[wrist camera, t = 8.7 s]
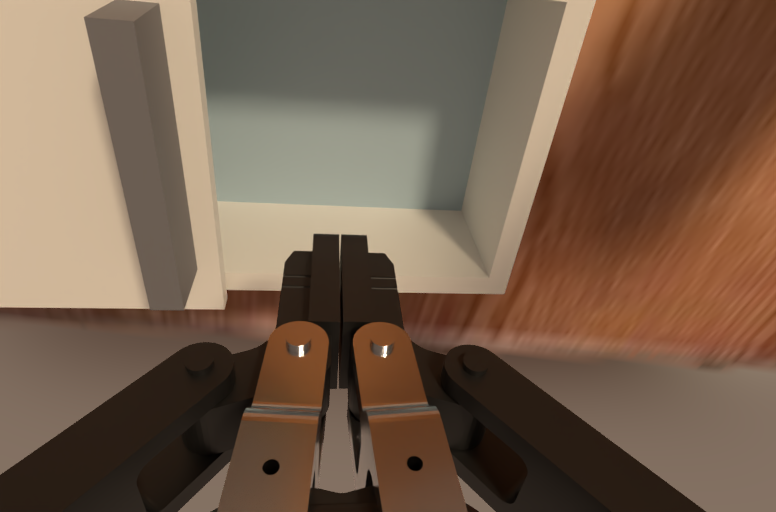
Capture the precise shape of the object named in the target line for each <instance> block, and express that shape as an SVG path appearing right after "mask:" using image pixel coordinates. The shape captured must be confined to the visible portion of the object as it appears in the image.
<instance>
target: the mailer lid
mask: <svg viewBox="0 0 776 512" xmlns="http://www.w3.org/2000/svg"><path fill="white" fill-rule="evenodd" d="M226 301H227V289H226V280H225V270H224V261H223V251H222V242H221V232H220V222H219V213H218V203H217V194H216V184H215V175H214V165H213V156H212V146H211V137H210V127H209V118H208V108H207V99H206V89H205V80H204V70H203V61H202V51H201V42H200V32H199V23H198V13H197V4H196V0H0V307H25V308H126V309H150V310H184V309H225V306H226Z"/></svg>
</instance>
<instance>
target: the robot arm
mask: <svg viewBox="0 0 776 512" xmlns="http://www.w3.org/2000/svg"><path fill="white" fill-rule="evenodd" d="M338 354H339V388H348V410H347V419H348V428H349V437H350V446H351V455H352V464H353V473H354V482H355V490H354V491H351V492H348V493H335V492H331V491H327V490H322V489H319V488H318V487H319V477H320V469H321V459H322V450H323V440H324V431H325V421H326V412H327V410H328V407H329V395H330V389H336V388H337V371H338ZM228 462H230V465H229V469H228V473H227V477H226V480H225V484H224V488H223V491H222V495H221V499H220V503H219V507H218V508H217V509H215V510H213V511H211V512H478V511H477V510H476V509H474V508H473V507H471V506H469V505H468V504H466V503H465V500H464V497H463V493H462V490H461V486H460V483H459V479H458V476H459V477H460V478H461V479H462V480H463V481H464V482H465V483H467V484H468V485H469V486H470V487H471V488H472V489H473V490H474V491H475V492H476V493H477V494H478V495H479V496H480V497H481V498H482V499H483V500H484V501H485V502H486V503H487V504H488V505H489V506H490V507H492V508H493V509H494V510H495V511H496V512H706V511H704V510H703V509H702V508H700V507H699V506H698V505H696V504H695V503H693V502H692V501H691V500H690V499H688V498H687V497H685V496H684V495H683V494H682V493H680V492H679V491H677V490H676V489H675V488H673V487H672V486H671V485H669V484H668V483H667V482H665V481H664V480H663V479H661V478H660V477H659V476H657V475H656V474H655V473H653V472H652V471H651V470H649V469H648V468H647V467H645V466H644V465H642V464H641V463H640V462H639V461H637V460H636V459H634V458H633V457H632V456H630V455H629V454H628V453H626V452H625V451H624V450H622V449H621V448H620V447H618V446H617V445H616V444H614V443H613V442H612V441H610V440H609V439H608V438H606V437H605V436H603V435H602V434H601V433H600V432H598V431H597V430H596V429H594V428H593V427H591V426H590V425H589V424H587V423H586V422H585V421H583V420H582V419H581V418H579V417H578V416H577V415H575V414H574V413H573V412H571V411H570V410H568V409H567V408H566V407H564V406H563V405H562V404H561V403H559V402H558V401H556V400H555V399H554V398H553V397H551V396H550V395H548V394H547V393H546V392H544V391H543V390H542V389H540V388H539V387H538V386H536V385H535V384H534V383H532V382H531V381H530V380H528V379H527V378H526V377H524V376H523V375H522V374H520V373H519V372H517V371H516V370H515V369H514V368H512V367H511V366H510V365H508V364H507V363H506V362H504V361H503V360H501V359H500V358H499V357H497V356H496V355H495V354H493V353H492V352H490V351H489V350H487V349H485V348H482V347H480V346H475V345H461V346H457V347H455V348H453V349H452V350H450V351H449V352H448V354H447V355H443V354H440V353H436V352H432V351H429V350H426V349H423V348H421V347H419V346H418V345H416V344H415V343H414V342H412V341H411V340H410V337H409V336H408V334H407V333H406V332H405V331H404V327H403V321H402V315H401V308H400V302H399V295H398V290H397V282H396V276H395V269H394V264H393V263H392V262H391V260H390V259H389V258H388V257H387V255H386V254H385V253H368V242H367V235H347V234H341V245H340V259H339V234H313V250H312V251H293V252H292V254H291V255H290V256H289V257H288V259H287V260H286V261H285V264H284V272H283V279H282V288H281V295H280V302H279V310H278V317H277V325H276V329H275V330H274V331H273V332H272V334H271V335H270V337H269V340H268V341H266V342H265V343H264V344H262V345H260V346H259V347H257V348H254V349H251V350H248V351H244V352H240V353H237V354H231V352H230V351H229V350H228V349H227V348H225V347H224V346H222V345H219V344H216V343H209V342H203V343H196V344H192V345H189V346H187V347H185V348H183V349H181V350H179V351H178V352H176V353H175V354H173V355H172V356H171V357H169V358H168V359H166V360H165V361H163V362H162V363H161V364H159V365H158V366H156V367H155V368H153V369H152V370H150V371H149V372H148V373H146V374H145V375H143V376H142V377H140V378H139V379H137V380H136V381H135V382H133V383H132V384H130V385H129V386H127V387H126V388H125V389H123V390H122V391H120V392H119V393H118V394H116V395H114V396H113V397H112V398H110V399H109V400H107V401H106V402H104V403H103V404H102V405H100V406H99V407H97V408H96V409H95V410H93V411H92V412H90V413H89V414H87V415H86V416H84V417H83V418H81V419H80V420H79V421H77V422H76V423H74V424H73V425H71V426H70V427H69V428H67V429H66V430H64V431H63V432H61V433H60V434H58V435H57V436H56V437H54V438H53V439H51V440H50V441H49V442H47V443H46V444H44V445H43V446H41V447H40V448H38V449H37V450H35V451H34V452H33V453H31V454H30V455H28V456H27V457H25V458H24V459H23V460H21V461H20V462H18V463H17V464H15V465H14V466H13V467H11V468H10V469H8V470H7V471H5V472H4V473H2V474H1V475H0V512H178V511H179V510H180V508H182V507H183V506H184V505H185V504H186V503H187V502H188V501H189V500H190V499H191V498H192V497H193V496H194V495H195V494H196V493H197V492H198V491H199V490H200V489H201V488H203V486H205V485H206V484H207V483H208V482H209V481H210V480H211V479H212V478H213V477H214V476H215V475H216V474H217V473H218V472H219V471H220V470H221V469H222V468H223V467H224V466H225V465H226V464H227V463H228ZM457 475H458V476H457Z"/></svg>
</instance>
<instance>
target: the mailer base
mask: <svg viewBox="0 0 776 512" xmlns="http://www.w3.org/2000/svg"><path fill="white" fill-rule="evenodd" d="M595 2H596V0H196V4H197V13H198V23H199V32H200V42H201V51H202V61H203V70H204V80H205V89H206V99H207V108H208V118H209V127H210V137H211V146H212V156H213V165H214V175H215V184H216V194H217V203H218V213H219V222H220V232H221V242H222V251H223V261H224V270H225V280H226V289H227V290H265V291H281V288H282V279H283V272H284V264H285V261H286V260H287V259H288V257H289V256H290V255H291V254H292V252H293V251H312V250H313V234H339V259H340V245H341V234H347V235H367V242H368V253H385V254H386V255H387V257H388V258H389V259H390V260H391V262H392V263H393V264H394V269H395V276H396V282H397V290H398V293H461V294H505V290H506V287H507V284H508V281H509V277H510V274H511V271H512V268H513V265H514V261H515V258H516V255H517V252H518V249H519V245H520V242H521V239H522V236H523V233H524V229H525V226H526V223H527V220H528V217H529V213H530V210H531V207H532V204H533V201H534V197H535V194H536V191H537V188H538V185H539V181H540V178H541V175H542V172H543V168H544V165H545V162H546V159H547V156H548V152H549V149H550V146H551V143H552V140H553V136H554V133H555V130H556V127H557V124H558V120H559V117H560V114H561V111H562V108H563V104H564V101H565V98H566V95H567V92H568V88H569V85H570V82H571V79H572V76H573V72H574V69H575V66H576V63H577V59H578V56H579V53H580V50H581V47H582V43H583V40H584V37H585V34H586V31H587V27H588V24H589V21H590V18H591V15H592V11H593V8H594V5H595Z"/></svg>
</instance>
